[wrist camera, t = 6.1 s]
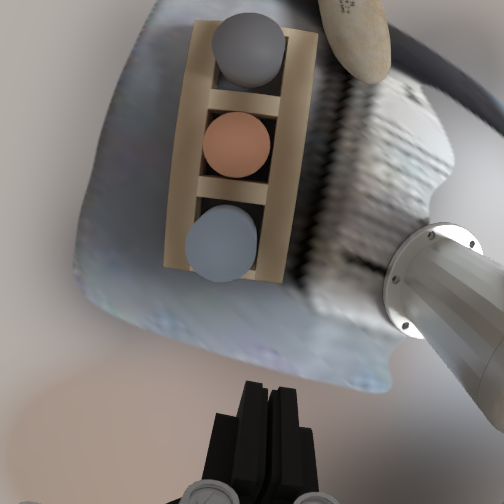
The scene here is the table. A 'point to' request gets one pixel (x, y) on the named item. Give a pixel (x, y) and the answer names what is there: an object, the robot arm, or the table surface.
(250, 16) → the charcoal button
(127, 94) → the table surface
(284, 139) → the birch board
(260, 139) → the terracotta button
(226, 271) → the slate button
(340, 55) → the stone
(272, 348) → the table surface
